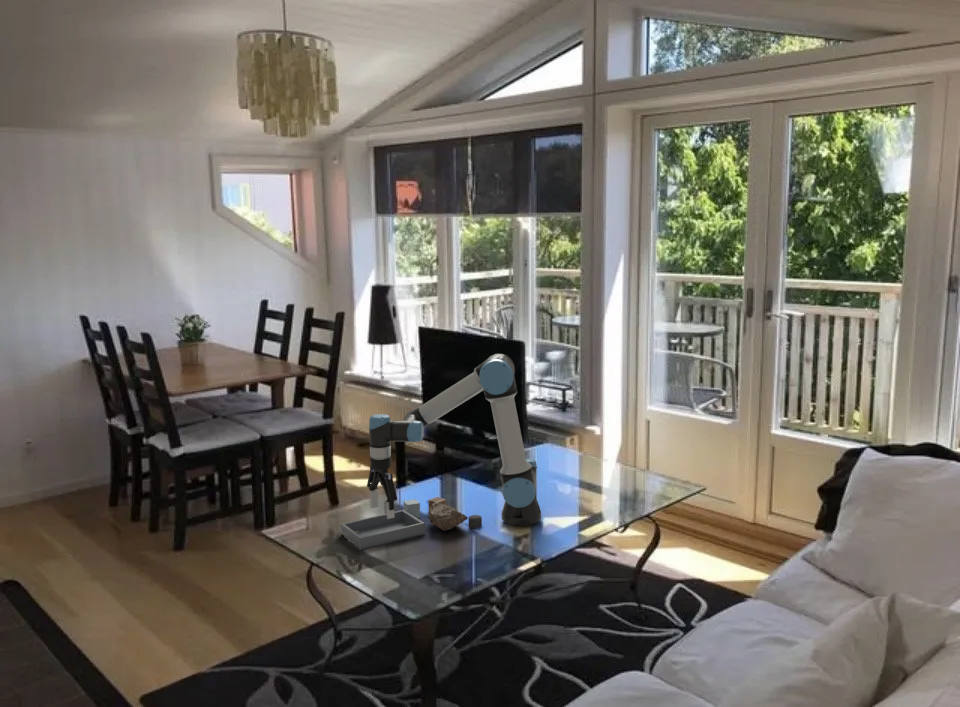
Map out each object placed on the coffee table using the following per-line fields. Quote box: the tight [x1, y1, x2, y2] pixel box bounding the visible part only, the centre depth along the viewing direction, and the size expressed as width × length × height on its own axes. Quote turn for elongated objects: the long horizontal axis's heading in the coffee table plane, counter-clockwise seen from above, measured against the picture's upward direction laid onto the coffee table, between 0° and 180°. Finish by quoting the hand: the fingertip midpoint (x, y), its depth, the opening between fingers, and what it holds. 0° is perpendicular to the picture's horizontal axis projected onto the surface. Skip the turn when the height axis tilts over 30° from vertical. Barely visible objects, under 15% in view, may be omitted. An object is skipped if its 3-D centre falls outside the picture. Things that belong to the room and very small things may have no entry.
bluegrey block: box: [403, 498, 421, 519], centre depth 316 cm, size 5×5×6 cm
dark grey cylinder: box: [468, 514, 483, 530], centre depth 303 cm, size 5×5×4 cm
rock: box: [428, 502, 469, 532], centre depth 303 cm, size 18×10×10 cm, turn 43°
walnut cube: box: [427, 496, 447, 509], centre depth 321 cm, size 5×5×5 cm
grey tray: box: [340, 509, 426, 551], centre depth 297 cm, size 17×26×4 cm, turn 123°
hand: (382, 512), depth 296 cm, fingers open, 13 cm apart
